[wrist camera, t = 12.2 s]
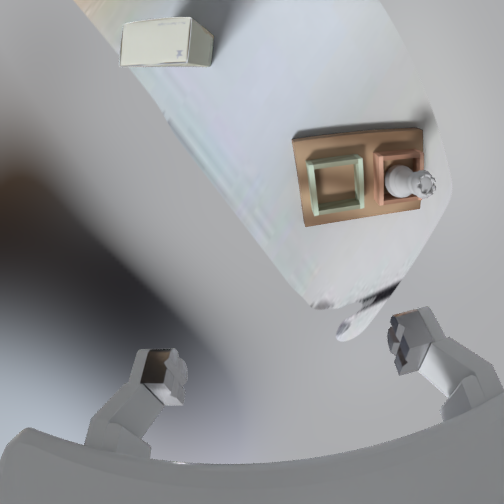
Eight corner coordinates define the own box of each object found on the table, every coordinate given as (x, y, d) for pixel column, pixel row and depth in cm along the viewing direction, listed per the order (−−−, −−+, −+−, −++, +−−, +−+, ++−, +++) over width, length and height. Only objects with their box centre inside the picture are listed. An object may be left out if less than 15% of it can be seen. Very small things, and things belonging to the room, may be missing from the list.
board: (291, 139, 33) (295, 145, 31) (417, 127, 31) (430, 133, 29) (303, 221, 40) (308, 234, 37) (415, 204, 38) (426, 215, 35)
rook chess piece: (378, 169, 34) (406, 170, 26) (405, 160, 33) (436, 160, 25) (388, 201, 35) (417, 210, 27) (414, 191, 34) (446, 198, 26)
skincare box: (214, 35, 26) (196, 14, 16) (210, 68, 28) (190, 64, 18) (162, 36, 25) (122, 21, 15) (159, 68, 28) (117, 68, 18)
